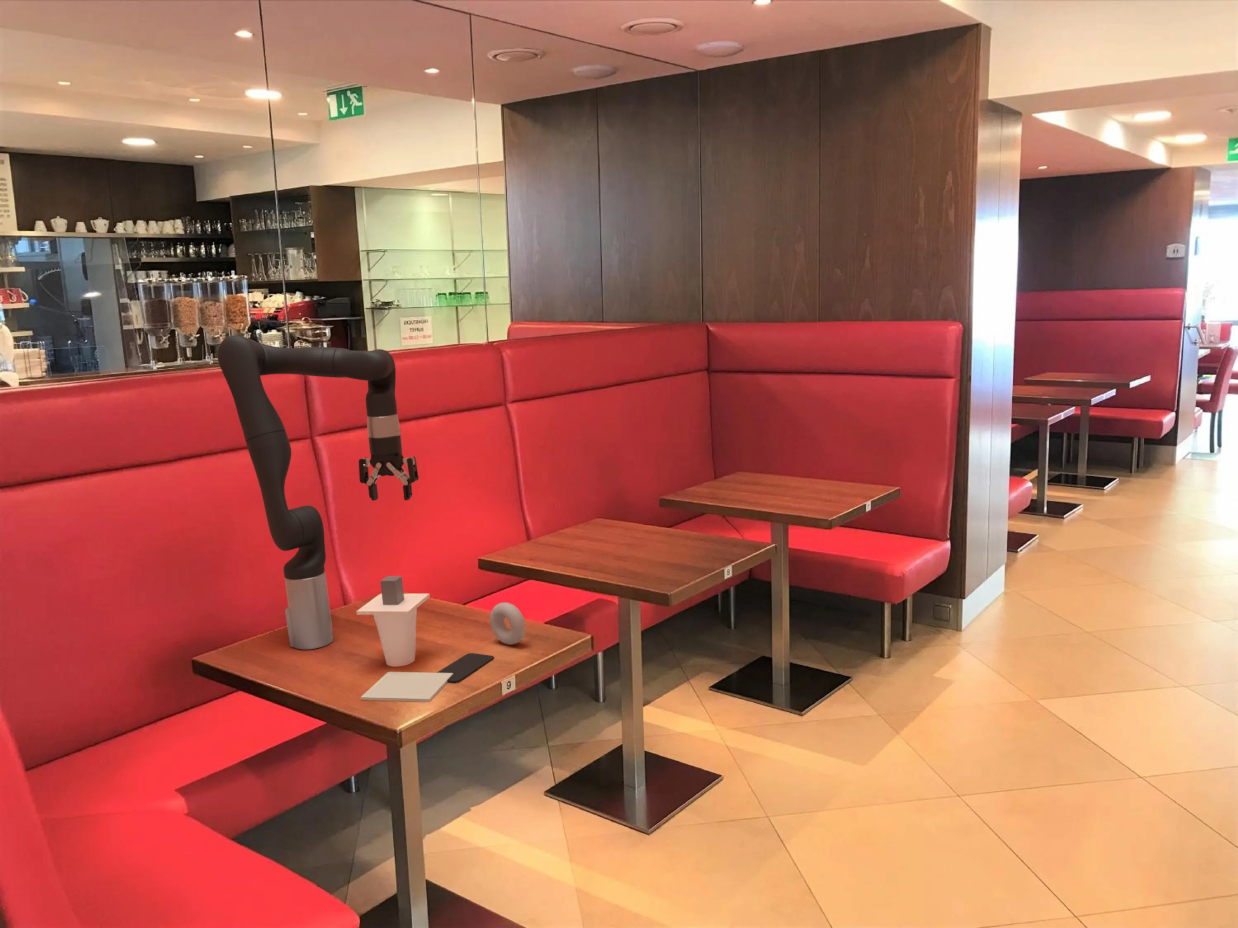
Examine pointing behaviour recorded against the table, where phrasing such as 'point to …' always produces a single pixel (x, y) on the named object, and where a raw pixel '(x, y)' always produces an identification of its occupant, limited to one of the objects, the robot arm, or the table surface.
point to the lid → (393, 599)
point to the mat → (407, 686)
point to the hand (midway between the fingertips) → (391, 499)
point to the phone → (466, 666)
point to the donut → (500, 626)
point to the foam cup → (397, 637)
